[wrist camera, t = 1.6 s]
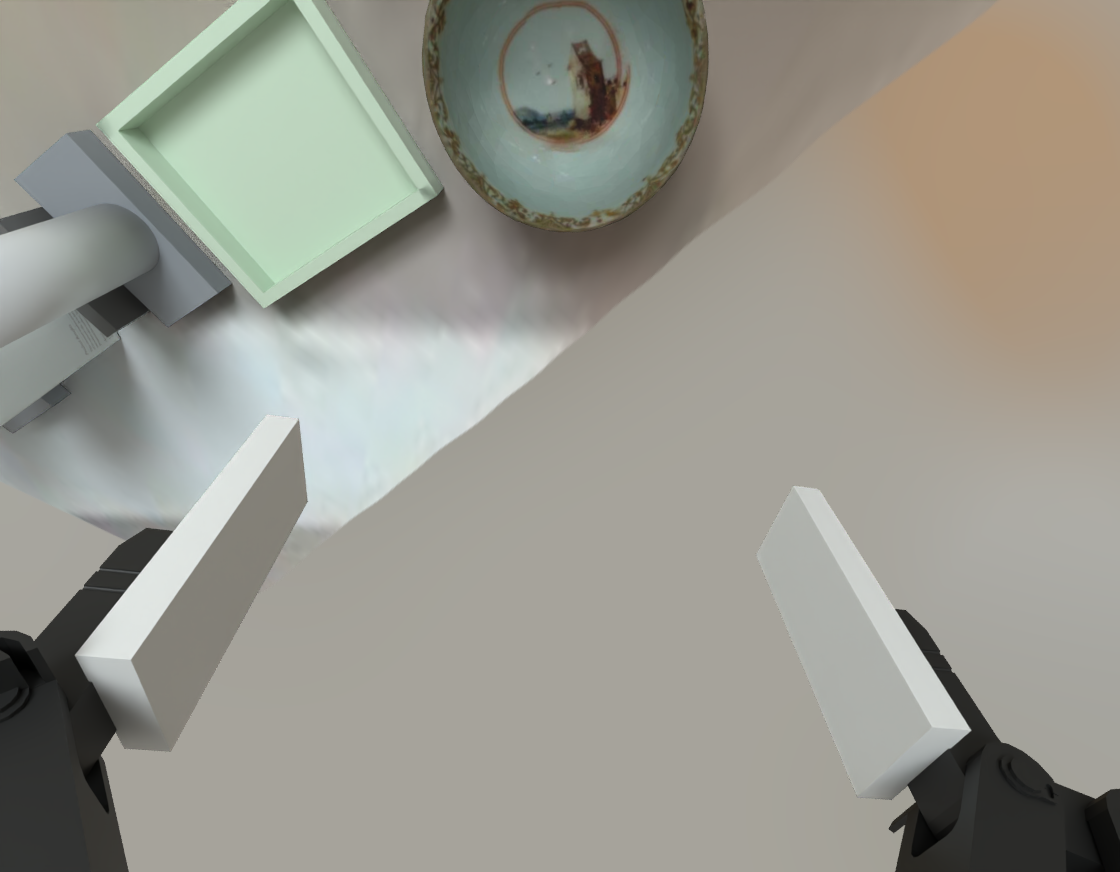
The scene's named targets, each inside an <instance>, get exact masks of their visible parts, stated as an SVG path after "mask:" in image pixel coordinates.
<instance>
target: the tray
mask: <svg viewBox="0 0 1120 872" xmlns="http://www.w3.org/2000/svg"><path fill="white" fill-rule="evenodd" d="M96 126H97V127H98V128H99V129H100V130H101V131H102V132H103V133H104V134H105V135H106V137H107V138H108V139H109V140H110V141H111V142H112V143H113V144H114V145H115V146H116V147H117V149H118V150H119V151H120V152H121V153H122V154H123V155H124V156H125V157H126V158H127V160H128V161H129V162H130V163H131V164H132V165H133V166H134V167H135V168H136V169H137V170H138V172H139V173H140V174H141V175H142V176H143V177H144V178H145V179H146V180H147V181H148V182H149V184H150V185H151V186H152V187H153V188H154V189H155V190H156V191H157V192H158V193H159V195H160V196H161V197H162V198H163V199H164V200H165V201H166V202H167V203H168V204H169V205H170V207H171V208H172V209H173V210H174V211H175V212H176V213H177V214H178V215H179V216H180V217H181V219H182V220H183V221H184V222H185V223H186V224H187V225H188V226H189V227H190V228H191V230H192V231H193V232H194V233H195V234H196V235H197V236H198V237H199V238H200V239H201V240H202V242H203V243H204V244H205V245H206V246H207V247H208V248H209V249H210V250H211V251H212V252H213V254H214V255H215V256H216V257H217V258H218V259H219V260H220V261H221V262H222V263H223V264H224V266H225V267H226V268H227V269H228V270H229V271H230V272H231V273H232V274H233V275H234V277H235V278H236V279H237V280H238V281H239V282H240V283H241V284H242V285H243V286H244V287H245V289H246V290H247V291H248V292H249V293H250V294H251V295H252V296H253V297H254V298H255V299H256V301H257V302H258V303H259V304H260V305H261V306H262V307H263V308H266V307H267V306H269V305H270V304H272V303H273V302H275V301H276V300H278V299H280V298H281V297H283V296H284V295H286V294H287V293H289V292H290V291H292V290H293V289H295V288H296V287H298V286H299V285H301V284H303V283H304V282H306V281H307V280H309V279H310V278H312V277H313V276H315V275H316V274H318V273H319V272H321V271H322V270H324V269H325V268H327V267H329V266H330V265H332V264H333V263H335V262H336V261H338V260H339V259H341V258H342V257H344V256H345V255H347V254H348V253H350V252H351V251H353V250H355V249H356V248H358V247H359V246H361V245H362V244H364V243H365V242H367V241H368V240H370V239H371V238H373V237H374V236H376V235H378V234H379V233H381V232H382V231H384V230H385V229H387V228H388V227H390V226H391V225H393V224H394V223H396V222H397V221H399V220H400V219H402V218H404V217H405V216H407V215H408V214H410V213H411V212H413V211H414V210H416V209H417V208H419V207H420V206H422V205H423V204H425V203H427V202H428V201H430V200H431V199H433V198H434V197H436V196H437V195H438V194H439V193H440V192H441V190H442V189H443V188H444V187H443V186H442V184H441V183H440V181H439V179H438V178H437V176H436V175H435V173H434V172H433V170H432V168H431V167H430V165H429V164H428V162H427V161H426V159H425V157H424V156H423V154H422V153H421V151H420V150H419V148H418V146H417V145H416V143H415V142H414V140H413V138H412V137H411V135H410V134H409V132H408V131H407V129H406V127H405V126H404V124H403V123H402V121H401V120H400V118H399V116H398V115H397V113H396V112H395V110H394V109H393V107H392V105H391V104H390V102H389V101H388V99H387V97H386V96H385V94H384V93H383V91H382V90H381V88H380V86H379V85H378V83H377V82H376V80H375V79H374V77H373V75H372V74H371V72H370V71H369V69H368V68H367V66H366V64H365V63H364V61H363V60H362V58H361V56H360V55H359V53H358V52H357V50H356V49H355V47H354V45H353V44H352V42H351V41H350V39H349V38H348V36H347V34H346V33H345V31H344V30H343V28H342V27H341V25H340V23H339V22H338V20H337V19H336V17H335V16H334V14H333V12H332V11H331V9H330V8H329V6H328V4H327V3H326V1H325V0H238V1H237V2H236V3H235V4H234V5H233V6H231V7H230V8H229V9H228V10H227V11H226V12H225V13H223V14H222V15H221V16H220V17H219V18H218V19H217V20H215V21H214V22H213V23H212V24H211V25H210V26H208V27H207V28H206V29H205V30H204V31H203V32H202V33H200V34H199V35H198V36H197V37H196V38H195V39H194V40H192V41H191V42H190V43H189V44H188V45H187V46H186V47H184V48H183V49H182V50H181V51H180V52H179V53H178V54H176V55H175V56H174V57H173V58H172V59H171V60H169V61H168V62H167V63H166V64H165V65H164V66H163V67H161V68H160V69H159V70H158V71H157V72H156V73H155V74H153V75H152V76H151V77H150V78H149V79H148V80H147V81H145V82H144V83H143V84H142V85H141V86H140V87H139V88H137V89H136V90H135V91H134V92H133V93H132V94H131V95H129V96H128V97H127V98H126V99H125V100H124V101H122V102H121V103H120V104H119V105H118V106H117V107H116V108H114V109H113V110H112V111H111V112H110V113H109V114H108V115H106V116H105V117H104V118H103V119H102V120H101V121H100V122H98V123H97V124H96Z"/></svg>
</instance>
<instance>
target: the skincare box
mask: <svg viewBox="0 0 1120 872" xmlns="http://www.w3.org/2000/svg"><path fill="white" fill-rule="evenodd" d="M119 339H120V337H119V336H118V334H117V333H114V334H112V335H111V336H109V337H108V338H107V337H106V336H105V335H104V334H103V333H102V332H101V331H99V330H98V329H97V328H96V327H95V326H94V325H93V324H92V323H90V322H89V321H88V320H87V319H86V318H85V317H84V316H83V315H82V314H80V313H79V312H78V311H77V310H76V309H75V310H73V311H71V312H69V313H67V314H65V315H63V316H61V317H60V318H58V319H56V320H54V321H52V322H50V323H48V324H46V325H44V326H42V327H40V328H38V329H37V330H35V331H33V332H31V333H29V334H27V335H25V336H23V337H21V338H19V339H17V340H15V341H13V342H12V343H10V344H8V345H6V346H4V347H2V348H0V427H1V426H2V425H4V424H5V423H6V422H8V421H9V420H11V419H12V418H13V417H15V416H16V415H17V414H19V413H20V412H21V411H23V410H24V409H25V408H27V407H28V406H30V405H31V404H32V403H34V402H35V401H36V400H38V399H39V398H41V397H42V396H43V395H45V394H46V393H47V392H49V391H50V390H51V389H53V388H54V387H55V386H57V385H58V384H59V383H61V382H62V381H64V380H65V379H66V378H68V377H69V376H70V375H72V374H73V373H74V372H76V371H77V370H78V369H80V368H81V367H83V366H84V365H85V364H87V363H88V362H89V361H91V360H92V359H93V358H95V357H96V356H97V355H99V354H100V353H102V352H103V351H104V350H106V349H107V348H108V347H110V346H111V345H112V344H114V343H115V342H117V341H118V340H119Z"/></svg>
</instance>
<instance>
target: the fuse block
mask: <svg viewBox="0 0 1120 872" xmlns="http://www.w3.org/2000/svg"><path fill="white" fill-rule="evenodd" d="M14 180H15V181H16V182H17V183H18V184H19V185H20V186H21V187H22V188H23V189H24V190H25V191H26V192H27V193H28V194H29V195H30V196H31V197H32V198H33V199H35V200H36V201H37V202H38V203H39V204H40V205H41V206H42V207H40V208H37V209H33V210H30V211H26V212H23V213H19V214H16V215H12V216H9V217H5V218H2V219H0V348H2V347H4V346H6V345H8V344H10V343H12V342H13V341H15V340H17V339H19V338H21V337H23V336H25V335H27V334H29V333H31V332H33V331H35V330H37V329H38V328H40V327H42V326H44V325H46V324H48V323H50V322H52V321H54V320H56V319H58V318H60V317H61V316H63V315H65V314H67V313H69V312H71V311H73V310H75V309H76V310H77V311H78V312H79V313H80V314H82V315H83V316H84V317H85V318H86V319H87V320H88V321H89V322H90V323H92V324H93V325H94V326H95V327H96V328H97V329H98V330H99V331H101V332H102V333H103V334H104V335H105V336H106V337H107V338H108V337H109V336H111V335H112V334H114V333H116V332H117V331H119V330H120V329H122V328H124V327H125V326H127V325H129V324H130V323H132V322H133V321H135V320H137V319H138V318H140V317H141V316H143V315H145V314H146V313H148V312H149V311H151V312H152V313H153V314H154V315H155V316H156V317H157V318H158V319H159V320H160V321H162V322H163V323H164V324H165V325H166V326H167V327H169V326H171V325H172V324H174V323H175V322H177V321H178V320H180V319H181V318H182V317H184V316H185V315H187V314H188V313H190V312H191V311H193V310H194V309H196V308H197V307H199V306H200V305H201V304H203V303H204V302H206V301H207V300H209V299H210V298H212V297H213V296H215V295H216V294H218V293H219V292H220V291H222V290H223V289H225V288H226V287H228V286H229V285H230V284H232V283H231V282H230V281H229V280H228V279H227V278H226V277H225V275H224V274H223V273H222V272H221V271H220V270H219V269H218V268H217V267H216V266H215V265H214V264H213V262H212V261H211V260H210V259H209V258H208V257H207V256H206V255H205V254H204V253H203V252H202V251H201V249H200V248H199V247H198V246H197V245H196V244H195V243H194V242H193V241H192V240H191V239H190V238H189V237H188V235H187V234H186V233H185V232H184V231H183V230H182V229H181V228H180V227H179V226H178V225H177V224H176V222H175V221H174V220H173V219H172V218H171V217H170V216H169V215H168V214H167V213H166V212H165V211H164V209H163V208H162V207H161V206H160V205H159V204H158V203H157V202H156V201H155V200H154V199H153V198H152V196H151V195H150V194H149V193H148V192H147V191H146V190H145V189H144V188H143V187H142V186H141V185H140V183H139V182H138V181H137V180H136V179H135V178H134V177H133V176H132V175H131V174H130V173H129V172H128V170H127V169H126V168H125V167H124V166H123V165H122V164H121V163H120V162H119V161H118V160H117V159H116V158H115V156H114V155H113V154H112V153H111V152H110V151H109V150H108V149H107V148H106V147H105V146H104V145H103V143H102V142H101V141H100V140H99V139H98V138H97V137H96V136H95V135H94V134H93V133H92V132H91V130H86V131H79V132H72V133H66V134H65V135H64V136H63V137H61V138H60V139H59V140H58V141H57V142H56V143H55V144H54V145H52V146H51V147H50V148H49V149H48V150H47V151H46V152H44V153H43V154H42V155H41V156H40V157H39V158H38V159H37V160H35V161H34V162H33V163H32V164H31V165H30V166H29V167H28V168H26V169H25V170H24V171H23V172H22V173H21V174H20V175H19V176H17V177H16V178H15V179H14ZM70 394H71V393H70V392H69V391H67V390H66V389H65V388H64V387H62V386H61V385H60V384H58V385H57V386H55V387H54V388H53V389H51V390H50V391H49V392H47V393H46V394H45V395H43V396H42V397H41V398H39V399H38V400H36V401H35V402H34V403H32V404H31V405H30V406H28V407H27V408H25V409H24V410H23V411H21V412H20V413H19V414H17V415H16V416H15V417H13V418H12V419H11V420H9V421H8V422H6V423H5V424H4V425H2V426H3V427H4V428H6V429H7V430H9V431H10V432H11V433H14V432H16V431H17V430H19V429H20V428H22V427H23V426H25V425H26V424H28V423H29V422H30V421H32V420H33V419H35V418H36V417H38V416H39V415H41V414H42V413H44V412H45V411H47V410H48V409H49V408H51V407H52V406H54V405H55V404H57V403H58V402H60V401H61V400H62V399H64V398H65V397H67V396H68V395H70Z"/></svg>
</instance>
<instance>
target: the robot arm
mask: <svg viewBox="0 0 1120 872" xmlns="http://www.w3.org/2000/svg"><path fill="white" fill-rule="evenodd" d="M307 502H308V501H307V491H306V482H305V472H304V463H303V453H302V444H301V434H300V425H299V419H296V418H289V417H282V416H274V415H266V416H265V417H264V418H263V420H262V421H261V422H260V423H259V425H258V426H257V427H256V428H255V430H254V431H253V432H252V434H251V435H250V436H249V437H248V439H247V440H246V441H245V442H244V444H243V445H242V446H241V447H240V449H239V450H238V451H237V452H236V454H235V455H234V456H233V457H232V459H231V460H230V461H229V462H228V464H227V465H226V466H225V467H224V469H223V470H222V471H221V472H220V474H219V475H218V476H217V477H216V479H215V480H214V481H213V482H212V484H211V485H210V486H209V487H208V489H207V490H206V491H205V492H204V494H203V495H202V496H201V497H200V499H199V500H198V501H197V503H196V504H195V505H194V506H193V508H192V509H191V510H190V511H189V513H188V514H187V515H186V516H185V518H184V519H183V520H182V521H181V523H180V524H179V525H178V526H177V528H176V529H175V530H174V531H169V530H160V529H151V528H146V529H144V530H143V531H141V532H139V533H138V534H136V535H135V536H133V537H132V538H130V539H128V540H127V541H125V542H124V543H122V544H121V545H119V546H118V547H117V548H116V549H115V551H114V552H113V553H112V554H111V555H110V556H109V557H108V558H107V560H106V561H105V562H104V563H103V564H102V565H101V566H100V570H99V571H98V572H97V571H96V572H95V573H94V574H93V575H92V577H91V578H90V579H89V580H88V581H87V582H86V583H85V585H84V588H83V589H82V590H79V591H78V592H77V593H76V595H75V596H74V597H73V598H72V599H71V600H70V601H69V602H68V604H67V605H66V606H65V607H64V608H63V609H62V610H61V611H60V613H59V614H58V615H57V616H56V617H55V618H54V619H53V621H52V622H51V623H50V624H49V625H48V626H47V628H45V630H44V631H43V632H42V633H41V634H40V635H39V636H38V637H37V639H36V640H35V641H33V639H32V638H31V636H28V635H26V634H23V633H20V632H18V631H0V872H129V871H128V867H127V862H126V858H125V854H124V848H123V844H122V839H121V835H120V831H119V826H118V821H117V817H116V812H115V808H114V803H113V799H112V794H111V789H110V785H109V780H108V776H107V771H106V766H105V762H104V760H103V758H102V757H101V754H102V752H103V751H104V749H105V748H106V746H107V744H108V743H109V741H110V740H111V738H112V737H113V735H114V734H115V732H116V734H117V736H118V738H119V739H120V741H121V743H122V745H123V747H124V748H125V749H139V750H140V749H141V750H154V751H169V752H170V751H171V750H172V749H173V747H174V745H175V743H176V741H177V740H178V738H179V736H180V734H181V732H182V730H183V729H184V727H185V725H186V723H187V721H188V719H189V718H190V716H191V714H192V712H193V710H194V709H195V707H196V705H197V703H198V701H199V699H200V697H201V696H202V694H203V692H204V690H205V688H206V687H207V685H208V683H209V681H210V679H211V677H212V676H213V674H214V672H215V670H216V668H217V666H218V664H219V663H220V661H221V659H222V657H223V655H224V653H225V652H226V650H227V648H228V646H229V645H230V643H231V641H232V639H233V637H234V635H235V633H236V632H237V630H238V628H239V626H240V624H241V623H242V621H243V619H244V617H245V615H246V613H247V612H248V610H249V608H250V606H251V604H252V602H253V600H254V599H255V597H256V595H257V593H258V591H259V590H260V588H261V586H262V584H263V582H264V581H265V579H266V577H267V575H268V573H269V571H270V570H271V568H272V566H273V564H274V562H275V560H276V559H277V557H278V555H279V553H280V551H281V549H282V548H283V546H284V544H285V542H286V540H287V538H288V537H289V535H290V533H291V531H292V529H293V527H294V526H295V524H296V522H297V520H298V518H299V517H300V515H301V513H302V511H303V509H304V507H305V506H306V504H307ZM756 556H757V559H758V561H759V564H760V566H761V568H762V571H763V573H764V576H765V578H766V581H767V583H768V585H769V588H770V590H771V592H772V595H773V597H774V600H775V602H776V604H777V607H778V609H779V612H780V614H781V616H782V619H783V621H784V624H785V626H786V628H787V631H788V633H789V635H790V638H791V640H792V642H793V645H794V648H795V650H796V652H797V655H798V657H799V659H800V662H801V664H802V667H803V669H804V671H805V674H806V676H807V679H808V681H809V683H810V686H811V688H812V690H813V693H814V695H815V698H816V700H817V703H818V705H819V707H820V710H821V712H822V714H823V716H824V719H825V722H826V724H827V726H828V729H829V731H830V734H831V736H832V738H833V741H834V743H835V746H836V748H837V750H838V752H839V755H840V757H841V760H842V762H843V765H844V767H845V769H846V772H847V774H848V777H849V779H850V781H851V784H852V786H853V789H854V791H855V793H856V796H857V797H858V798H874V799H887V800H888V799H889V800H892V799H893V798H894V797H895V796H896V795H898V794H899V793H900V792H901V791H902V790H903V789H905V788H906V787H907V786H908V787H909V789H910V791H911V793H912V795H913V797H914V799H915V801H916V803H914V804H913V805H912V806H911V807H910V808H908V809H907V810H906V811H905V812H904V813H902V814H901V815H900V816H899V817H897V818H896V819H895V820H894V821H893V822H892V824H891V826H890V827H889V830H891V831H892V832H893V833H894V832H896V831H897V830H899V829H900V828H901V827H902V826H903V825H905V829H904V834H903V839H902V843H901V848H900V852H899V857H898V862H897V867H896V871H895V872H1120V789H1112V790H1110V791H1108V792H1106V793H1105V794H1103V795H1101V796H1100V797H1098V798H1096V799H1094V798H1092V797H1089V796H1087V795H1084V794H1082V793H1079V792H1077V791H1074V790H1071V789H1069V788H1067V787H1064V786H1062V785H1059V784H1057V783H1054V781H1053V779H1052V778H1051V777H1050V776H1049V774H1048V773H1047V772H1046V771H1045V770H1044V769H1043V768H1042V767H1041V766H1040V765H1039V764H1038V763H1037V762H1036V761H1035V760H1033V759H1032V758H1031V757H1030V756H1028V755H1027V754H1026V753H1024V752H1023V751H1021V750H1019V749H1017V748H1015V747H1013V746H1011V745H1009V744H1006V743H1001V741H1000V740H999V739H998V738H997V736H996V735H995V733H994V732H993V730H992V729H991V727H990V725H989V724H988V722H987V721H986V719H985V718H984V717H983V715H982V713H981V712H980V710H979V709H978V707H977V706H976V704H975V703H974V701H973V700H972V698H971V697H970V695H969V694H968V692H967V691H966V689H965V688H964V686H963V685H962V683H961V682H960V680H959V679H958V677H957V676H956V674H955V673H952V671H951V669H952V668H951V667H950V665H949V664H948V662H947V661H946V659H945V658H944V656H943V655H940V650H939V649H938V647H937V645H936V644H935V642H934V641H933V639H932V638H931V636H930V635H929V633H928V632H927V630H926V629H925V628H924V627H923V626H922V625H921V624H920V623H919V622H917V621H916V620H915V619H914V618H913V617H912V616H911V615H910V614H909V613H908V612H907V611H906V610H899V609H894V607H893V606H892V604H891V602H890V601H889V599H888V598H887V596H886V595H885V593H884V591H883V590H882V588H881V587H880V585H879V583H878V582H877V580H876V579H875V577H874V576H873V574H872V572H871V571H870V569H869V567H868V566H867V564H866V563H865V561H864V560H863V558H862V556H861V555H860V553H859V552H858V550H857V548H856V547H855V545H854V544H853V542H852V541H851V539H850V537H849V536H848V534H847V533H846V531H845V529H844V528H843V526H842V525H841V523H840V522H839V520H838V518H837V517H836V515H835V514H834V512H833V510H832V509H831V507H830V506H829V504H828V503H827V501H826V499H825V498H824V496H823V495H822V493H821V491H820V490H819V489H815V488H808V487H800V486H793V487H792V489H791V491H790V492H789V494H788V497H787V498H786V500H785V502H784V504H783V505H782V507H781V509H780V511H779V513H778V515H777V516H776V518H775V520H774V522H773V524H772V526H771V528H770V530H769V531H768V533H767V535H766V537H765V539H764V541H763V542H762V544H761V546H760V548H759V550H758V552H757V554H756Z"/></svg>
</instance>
